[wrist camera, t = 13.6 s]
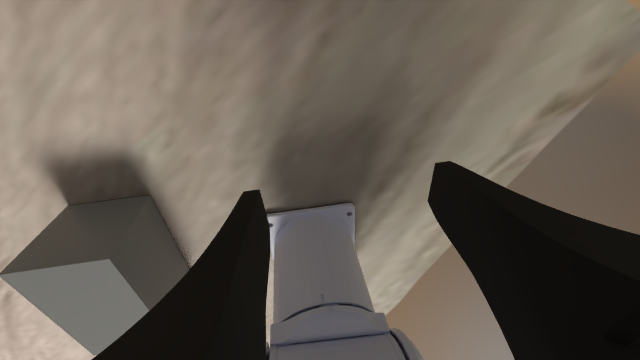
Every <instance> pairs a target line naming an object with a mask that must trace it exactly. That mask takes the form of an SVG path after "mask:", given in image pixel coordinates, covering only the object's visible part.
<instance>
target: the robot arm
mask: <svg viewBox="0 0 640 360" xmlns="http://www.w3.org/2000/svg"><path fill="white" fill-rule="evenodd" d="M428 203H429V205H430V207H431V209H432V212H433V214H434V216H435V218H436V220H437V222H438V223H439V225H440V226H441V228H442V229H443V231H444V232H445V234H446V235H447V237H448V238H449V240H450V241H451V243H452V244H453V245H454V247H455V248H456V250H457V251H458V253H459V254H460V256H461V257H462V259H463V260H464V261H465V263H466V264H467V266H468V268H469V269H470V271H471V272H472V274H473V276H474V277H475V279H476V281H477V283H478V285H479V287H480V289H481V290H482V292H483V294H484V296H485V298H486V300H487V302H488V304H489V306H490V308H491V310H492V312H493V314H494V316H495V318H496V319H497V322H498V324H499V326H500V328H501V330H502V332H503V335H504V337H505V339H506V341H507V343H508V345H509V348H510V350H511V352H512V354H513V356H514V359H515V360H640V235H638V234H634V233H630V232H626V231H623V230H619V229H616V228H612V227H609V226H606V225H602V224H599V223H596V222H592V221H589V220H586V219H583V218H580V217H577V216H574V215H571V214H568V213H565V212H562V211H560V210H557V209H555V208H552V207H549V206H546V205H544V204H541V203H539V202H537V201H534V200H532V199H529V198H527V197H525V196H523V195H520V194H518V193H515V192H513V191H511V190H509V189H507V188H505V187H503V186H501V185H499V184H497V183H495V182H492V181H490V180H488V179H486V178H484V177H482V176H480V175H478V174H476V173H474V172H472V171H470V170H468V169H466V168H464V167H462V166H460V165H458V164H455V163H453V162H451V161H447V162H440V163H435V167H434V172H433V177H432V182H431V187H430V192H429V197H428ZM348 212H351V213H349V214H348ZM269 223H272V224H269ZM270 250H271V254H272V258H273V262H274V311H273V324H271V331H270V348H269V344H268V342H266V296H267V285H268V273H269V261H270ZM92 360H423V358H422V356H421V354H420V352H419V351H418V349H417V348H416V346H415V345H414V344H413V342H412V341H411V340H410V339H409V338H408V337H407V336H406V335H405V334H404V333H403V332H402V331H401V330H399V329H396V328H392V329H389V326H388V323H387V321H386V318H385V314H384V313H375V311H374V308H373V305H372V301H371V298H370V295H369V292H368V289H367V286H366V282H365V279H364V276H363V273H362V270H361V266H360V263H359V260H358V257H357V254H356V250H355V207H354V205H353V204H352V203H345V204H338V205H331V206H323V207H316V208H309V209H302V210H294V211H287V212H280V213H273V214H267V215H266V211H265V207H264V204H263V200H262V197H261V193H260V190H252V191H245V192H243V194H242V195H241V197H240V198H239V200H238V202H237V203H236V205H235V207H234V209H233V210H232V212H231V213H230V215H229V217H228V218H227V220H226V221H225V223H224V224H223V226H222V227H221V229H220V231H219V232H218V233H217V235H216V236H215V238H214V239H213V240H212V242H211V243H210V244H209V246H208V247H207V249H206V250H205V251H204V253H203V254H202V255H201V256H200V258H199V259H198V260H197V261H196V263H195V264H194V265H193V266H192V267H191V268H190V270H189V271H188V272H187V273H186V274H185V275H184V276H183V278H182V279H181V280H180V281H179V282H178V283H177V284H176V285H175V286H174V287H173V288H172V289H171V290H170V291H169V292H168V293H167V294H166V295H165V296H164V297H163V298H162V299H161V300H160V301H159V302H158V303H157V304H156V305H155V306H154V307H153V308H152V309H151V310H150V311H149V312H147V313H146V314H145V315H144V316H143V317H142V318H141V319H140V320H139V321H138V322H136V323H135V324H134V325H133V326H132V327H131V328H130V329H128V330H127V331H126V332H125V333H124V334H123V335H121V336H120V337H119V338H118V339H117V340H115V341H114V342H113V343H112V344H111V345H109V346H108V347H107V348H106V349H104V350H103V351H102V352H101V353H99V354H98V355H97V356H96V357H94V358H93V359H92Z"/></svg>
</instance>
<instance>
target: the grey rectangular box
mask: <svg viewBox="0 0 640 360" xmlns="http://www.w3.org/2000/svg"><path fill="white" fill-rule="evenodd" d="M189 270H190V268H189V266H188V265H187V263H186V261H185V259H184V257H183V255H182V253H181V251H180V250H179V248H178V246H177V244H176V242H175V240H174V238H173V236H172V235H171V233H170V231H169V229H168V227H167V225H166V223H165V222H164V220H163V218H162V216H161V214H160V212H159V210H158V208H157V207H156V205H155V203H154V201H153V199H152V197H151V195H147V196H139V197H131V198H124V199H116V200H108V201H100V202H93V203H85V204H77V205H69V206H67V207H66V208H65V209H64V210H63V211H62V212H61V213H60V214H59V215H58V216H57V217H56V218H55V219H54V220H53V221H52V222H51V223H50V224H49V225H48V226H47V227H46V228H45V229H44V230H43V231H42V232H41V233H40V234H39V235H38V236H37V237H36V238H35V239H34V240H33V241H32V242H31V243H30V244H29V245H28V246H27V247H26V248H25V249H24V250H23V251H22V252H21V253H20V254H19V255H18V256H17V257H16V258H15V259H14V260H13V261H12V262H11V263H10V264H9V265H8V266H7V267H6V268H5V269H4V270H3V271H2V272H1V273H0V277H1V278H2V279H3V280H5V281H6V282H7V283H8V284H9V285H11V286H12V287H13V288H14V289H15V290H16V291H18V292H19V293H20V294H21V295H22V296H24V297H25V298H26V299H27V300H28V301H30V302H31V303H32V304H33V305H34V306H36V307H37V308H38V309H39V310H40V311H42V312H43V313H44V314H45V315H46V316H48V317H49V318H50V319H51V320H52V321H53V322H55V323H56V324H57V325H58V326H59V327H61V328H62V329H63V330H64V331H65V332H67V333H68V334H69V335H70V336H71V337H73V338H74V339H75V340H76V341H77V342H79V343H80V344H81V345H82V346H83V347H85V348H86V349H87V350H88V351H89V352H91V353H92V354H93V355H98V354H99V353H101V352H102V351H103V350H104V349H106V348H107V347H108V346H109V345H111V344H112V343H113V342H114V341H115V340H117V339H118V338H119V337H120V336H121V335H123V334H124V333H125V332H126V331H127V330H128V329H130V328H131V327H132V326H133V325H134V324H135V323H136V322H138V321H139V320H140V319H141V318H142V317H143V316H144V315H145V314H146V313H147V312H149V311H150V310H151V309H152V308H153V307H154V306H155V305H156V304H157V303H158V302H159V301H160V300H161V299H162V298H163V297H164V296H165V295H166V294H167V293H168V292H169V291H170V290H171V289H172V288H173V287H174V286H175V285H176V284H177V283H178V282H179V281H180V280H181V279H182V278H183V276H184V275H185V274H186V273H187V272H188V271H189Z"/></svg>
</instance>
